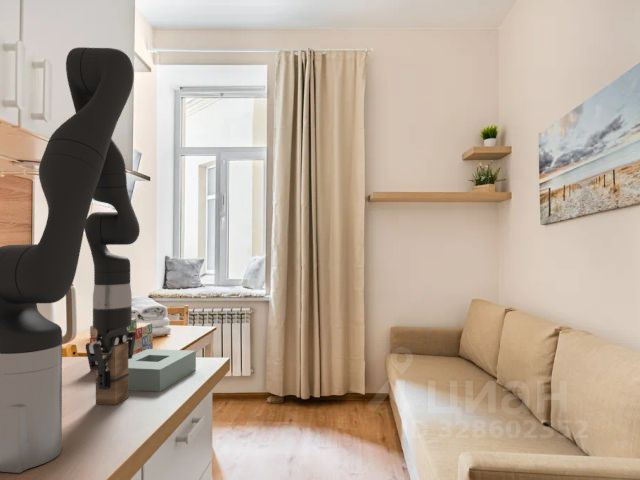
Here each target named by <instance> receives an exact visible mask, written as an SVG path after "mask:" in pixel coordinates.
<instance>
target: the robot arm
mask: <svg viewBox="0 0 640 480" xmlns="http://www.w3.org/2000/svg"><path fill="white" fill-rule="evenodd" d="M65 72H66V78H67V79H66V80H67V84H68V88H69V92H70V96H71V100H72V103H73V107H74V111H75V114H73V115H72V116H71V117H69V118H68V119H66V120H65V121H64V122H62V124H60V126H59V127H57V128H56V130H55V131H54V132H53V133H52V134H51V136H50V137H49V140H48V142H47V144H46V147H45V149H44V152H43V155H42V157H41V159H40V163H39V165H38V178H39V182H40V187H41V189H42V192H43V194H44V195H43V196H44V198H45V201H46V205H47V208H48V209H47V210H48V213H47V214H48V215H47V219H46V223H45V227H44V230H43V232H42V235H41V238H40V240H39V242H38V243H37V244H32V243H31V244H30V243H29V244H7V245H2V246H0V472H2V473H4V472H5V473H13V474H14V473H15V474H20V473H22V472H24V471H26V470H28V469H31V468H32V469H33V468H35V467H38V466H41V465H44V464H46V463H47V462H50V461H52V460H53V459H55V458H57V457H58V456H59V455H60V454H61V453H62V450H63V449H62V448H63V445H62V443H63V442H62V441H63V437H62V436H63V435H62V434H63V428H62V427H63V425H62V424H63V418H62V417H63V415H62V414H63V413H62V412H63V410H62V409H63V408H62V407H63V401H62V399H63V397H62V396H63V392H62V391H63V389H62V388H63V384H62V383H63V373H62V372H63V329H62V328H61V326H60V325H59V324H58V323H56V322H54V321H51V320H49V319H47V318H46V317H45V316H44V315H42V313H41V312H40V311H39V310H38V305H37V304H54V303H57V302H59V301H61V300H62V299H63V298H64V297H66V295H67V294H68V293H69V291H70V290H71V287H72V285H73V282H74V279H75V276H76V273H77V269H78V264H79V261H80V260H79V258H80V253H81V249H82V248H81V247H82V243H83V237H84V233H85V238H86V241H87V243H88V246H89V249H90V253H91V257H92V262H93V271H94V273H93V274H94V276H93V282H94V283H93V291H92V292H93V293H92V325H93V328H94V329H96V330H97V337H96V341H94V342H93V343H90V342H87V343H86V344H85V352H86V356H87V361H88V364H89V365H88V366H89V369H90V370H94V371H93V372H96V371H98V386H99V389H104V390H107V389H109V388H110V371H109V370H110V367H111V360H112V359H113V347H114V346H117V345H118V344H120V343H125V342H128V341H129V342H128V348H129V350H128V359H131V358H132V356H133V350H134V343H135V337H136V332H128V330H127V327H129V326H130V325H131V323H132V318H133V317H132V312H133V311H132V308H133V307H132V305H133V304H132V299H133V298H132V294H133V293H132V289H131V288H132V286H131V261H130V259H129V258H128V257H126V256H122V255H118V254H114V253H111V252H110V251H109V248H108V247H107V246H113V245H114V246H120V245H121V246H124V245H125V246H126V245H133V244H134V243H136V241H137V240H138V238H139V236H140V230H141V229H140V223H139V221H138V218H137V215H136V213H135V210H134V208H133V206H132V202H131V199H130V195H129V190H128V182H127V181H128V180H127V179H128V178H127V170H126V163H125V159H124V156H123V154H122V152H121V150H120V148H119V146H118V145H117V144H116V141H115V140H114V139H113V135H114V132H115V129H116V128H117V124H118V121H119V119H120V117H121V115H122V112H123V111H124V108H125V106H126V104H127V103H128V100H129V97H130V96H131V93H132V90H133V85H134V80H135V69H134V63H133V61H132V59H131V56H129V54H127V53H126V52H125V51H123V50H121V49H118V48H114V47H84V46H83V47H82V46H80V47H75V48H72V49H70V51H68V54H67V56H66V59H65ZM93 200H94V201H97V202H101V203H105V204H108V205H111V206H112V207H113V209H115V212H114V211H107V212H106V211H97V212H92V213H91V214H90V213H89V212H90V208H91V205H92V201H93ZM110 347H111V348H110ZM102 352H103V353H109V352H110V353H109V355H108V356H102ZM103 359H106V364H105V365H104V361H103ZM95 361H97V364H95ZM90 370H89V371H90Z"/></svg>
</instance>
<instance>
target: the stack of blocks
mask: <svg viewBox="0 0 640 480" xmlns="http://www.w3.org/2000/svg"><path fill="white" fill-rule="evenodd" d="M127 330H128V332H136V337H135V343H134V350H133V355H134V354H137V353H139V352H142V351H144V350H147V349H154V348H153V347H154V346H153V345H154V343H153V341H154V340H153V323H151V322H143V323H142V322H137V318H135V317H132V323H131V325H130V326H129V327H127ZM89 333H90V334H89V336H90V338H89V343H93V342H94V341H96V337H97V330H96V329H94V328H93V324H92V325H90V331H89ZM128 342H129V341H128ZM128 350H129V348H128ZM95 364H96V361H95ZM89 371H90V372H95V371H94V370H89Z"/></svg>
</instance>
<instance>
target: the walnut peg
mask: <svg viewBox="0 0 640 480" xmlns="http://www.w3.org/2000/svg"><path fill="white" fill-rule="evenodd" d="M110 348H111V347H110ZM109 353H110V352H109ZM109 353H103V352H102V356H108V355H109ZM103 361H104V365H105V364H106V359H103ZM96 364H97V361H96ZM109 371H110V388H109V389H107V390H104V389H99V386H98V371H95V405H107V406H108V405H112V406H116V405H118V404H120V403H122V402H123V401H125V400H126V399H128V398H129V390H128V376H129V373H128V342H125V343H120V344H118V345H117V346H114V347H113V359H112V360H111V367H110V370H109Z"/></svg>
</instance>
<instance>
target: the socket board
mask: <svg viewBox="0 0 640 480" xmlns="http://www.w3.org/2000/svg"><path fill="white" fill-rule="evenodd" d="M196 354H197V352H196V350H187V349H186V350H182V349H160V348H157V349H156V348H155V349H154V348H153V349H147V350H144V351H142V352H139V353H137V354H134V355H133V356H132V358H131V359H128V373H129V376H128V391H143V392H161V391H163V390H165V389H167V388H168V387H170V386H171V385H173V384H175V383H176V382H178V381H180V380H181V379H183V378H185V377H186V376H188V375H189V374H191V373H192V372H194V371H196V369H197V363H196V362H197V355H196Z"/></svg>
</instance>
